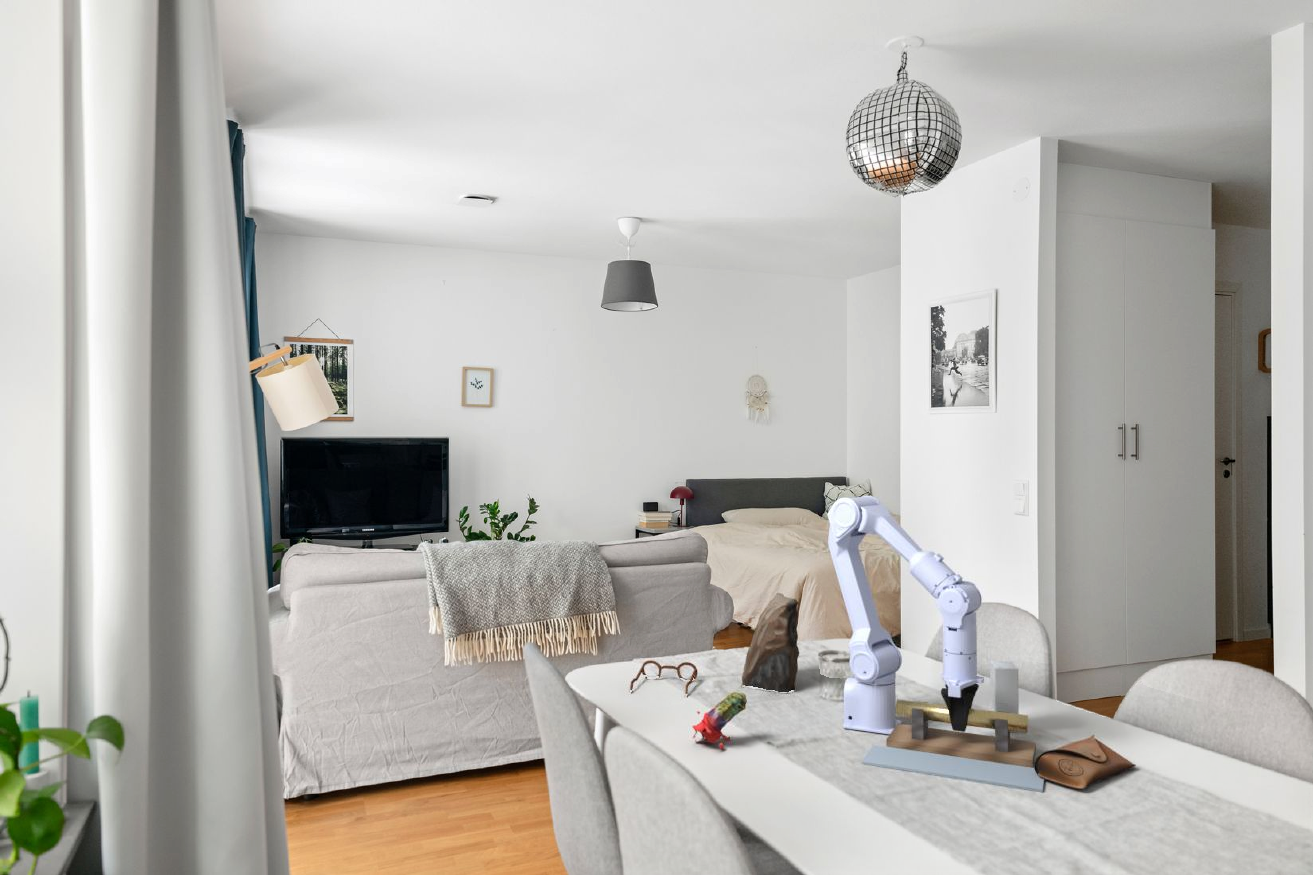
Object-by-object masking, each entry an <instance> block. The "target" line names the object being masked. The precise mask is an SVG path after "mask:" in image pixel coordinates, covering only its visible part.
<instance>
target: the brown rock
mask: <svg viewBox="0 0 1313 875" xmlns="http://www.w3.org/2000/svg"><path fill="white" fill-rule="evenodd" d="M798 605H799V601H798V600H797V599H796V598H790V597H787V596H784V594H783V593H780V592H776V594H775V596H774V597H773V598H772V599H771V600H770V601H769V602H768V603H767V605H766V607H765V608H764V610H762V612H761V614H759V618H758V620H757V624H756V627H755V630H754V632H753V636H752V638H751V642H750V645H749V647H748V650H747V652H746V656H745V663H744V667H743V672H742V674H741V675H742V676H741V682H742V684H741V686H742V685H745V686H753V687H758V688H763V689H766V690H775V691H778V692H789V691H791V690H795V687H796V681H797V680H796V678H797V675H798V672H799V670H798V669H799V663H798V660H799V659H798V658H799V656H800V650H799V646H798V640H799V634H798V630H797V620H798V618H799V614H798V610H797V608H798ZM795 691H796V690H795Z"/></svg>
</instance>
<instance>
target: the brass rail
mask: <svg viewBox="0 0 1313 875" xmlns="http://www.w3.org/2000/svg"><path fill="white" fill-rule="evenodd" d="M923 702H924V701H919V702H917V701H914V700H913V701H912V700H905V699H897V700H896V717H898V718H899V717H900V718H906V719H912V715H911V709H912V708H917V709H924V720H928V722H935V723H937V722H938V723H945V724H951V721H950V716H949V712H948V708H947V705H946V704H938V703H930V702H927V703H923ZM995 718H997V719H1005V720H1008V731H1012V732H1011V733H1013V732H1018V733H1019V734H1020V733H1021V734H1028V731H1029V716H1028V715H1027V714H1013V713H1004V712H996V711H990V710H985V709H980V708H979V709H978V708H972V707H971V708H970V709H969V714H968V721H967V727H974V728H975V727H976V728H983V729H989V730H995Z"/></svg>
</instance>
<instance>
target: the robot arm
mask: <svg viewBox="0 0 1313 875" xmlns="http://www.w3.org/2000/svg"><path fill="white" fill-rule="evenodd" d="M827 519H828V522H829V532H828V537H827V538H828V540H827V543H828V544H827V545H828V549H829V550H828V551H829V552H830V556H831V559H832V563H833V567H834V571H835V573H836V577H837V580H838V584H839V588H840V591H841V594H842V597H843V601H844V605H845V608H846V612H847V615H848V620H849V622H850V626H851V629H852V635H851V637H850V640H849V641H848V642H849V643H848V645H847V646H848V649H849V661H848V662H849V664H848V665H849V670H850V672H851V673H852V675H853V676H854V677H850V676H849V677H847V678H846V680H845V683H844V688H843V725H842V728H843V729H847V730H854V731H855V730H856V731H862V732H863V731H864V732H869V733H876V734H885V735H890V734H891V732H892V731H893V729H894V728H895V726H896V725H897V724H902V721H901V720H899V719H897V718H896V717H897V716H896V702H897V700H896V697H897V696H896V694H897V693H896V678H897V677H896V676H897V672H898V671H899V670H900V668H901V666H902V663H903V660H902V659H903V657H902V654H901V652H900V650H899V648H898V647H897V645H896V644H895V643H894V641H893V638H892V635H891V633H890V632H889V631H888V630H887V629H885V628H884V627H883V626H882V624H881V622H880V618H879V615H878V611H877V607H876V604H875V600H874V597H873V593H872V590H871V587H870V584H869V580H868V577H867V572H866V569H865V567H864V563H863V561H862V560H863V559H862V556H861V553H860V549H859V546H860V545H861V543H862V541H863V539H864V538H865V536H866V535H868V534H872V535H877V536H878V537H880V538H881V539H882V540H883V542H885V543H887V545H888V546H890V547H891V548H892V549H893V550H895V552H896V553H897V554H899V555H900V556H901V558H903V559H904V560H905V561H906V562H908V564H909V573H910V574H911V575H912V577H914V578H915V580H916V581H917V582H918V583H919V584H920V585H921V586H922V587H923V588H925V590H926V591H928V593H929V594H931V596H932V597H933V598H935V603H936V607H937V610H938V611H939V612H940V614H941V617H942V674H941V680H942V681H943V683H945V685H944V687H945V688H944V687H942V688H941V690H940V695H941V697H942V699H943V701H944V703H945V705H947V708H948V712H949V716H950V721H951V723H950V725H951V726H950V727H951V729H952V731H957V732H965V733H966V730H967V727H968V726H967V721H968V714H969V709H970V708H972V707H973V702H974V699H975V696H976V693H977V691H978V689H979V687H980V684H983V683H984V682H985V677H984V676H979V675H978V659H977V658H978V657H977V655H978V654H977V653H978V648H977V647H978V644H977V643H978V642H977V639H978V638H977V633H978V632H977V611H978V610H979V608H980V607H981V605H982V602H983V601H982V595H981V592H980V590H979V588H978V587H977V586H976V584H975V583H973V582H972V581H969V580H963V576H961V575H960V574H956V572H954V571H953V569H951V568H950V567H949V565H947V564H946V563H945V562H944V559H945V558H944V557H943V555H942V554H940V553H937V554H936V553H935V552H934V551H932V550H931V551H929V550H928V551H926V550H925V551H924V550H923V549H922V548H921V547H920V546H919V544H917V542H915V540H914V539H913V538H912V537H911V536H910V535H909V534H908V532H906V530H905V529H904V528H903V527H902V526H901V525H900V523H898V521H897V520H895V518H894V517H893V516H892V514H891V513H890V511H889V509H888V508H887V507H886V506H885V505H884V504H882V503H881V502H880V500H878V499H877V498H876V497H875V496H872V495H864V496H857V497H846V496H845V497H841V498H838V499H836V501H835V502H834V503H833V504H832V506H831V508H830V509H829V511H828V513H827Z"/></svg>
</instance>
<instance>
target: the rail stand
mask: <svg viewBox="0 0 1313 875" xmlns="http://www.w3.org/2000/svg"><path fill="white" fill-rule="evenodd" d="M916 702H920V701H916ZM922 702H923V703H928V701H927V702H926V701H922ZM998 712H1002V711H998ZM1004 713H1010V712H1004ZM911 715H912V718H911V725H910V724H906V723H905V724H904V723H901V724H897V725H896V726H895V728H894V729H893V731H892V732H891V734H888V737H886V747H891V748H898V749H905V750H912V751H918V752H925V753H932V754H939V755H946V756H952V757H959V758H966V759H973V760H980V761H987V762H993V763H1000V764H1007V765H1014V766H1021V767H1028V768H1034V762H1035V756H1036V752H1037V751H1036V750H1037V742H1036V741H1033V740H1032V741H1031V740H1023V739H1015V738H1011V732H1010V731H1008V720H1005V719H997V718H995V729H994V735H987V734H979V733H972V732H966V731H965V732H962V731H954V730H949V729H942V728H941V729H940V728H934V727H929V721H928V720H924V709H917V708H912V709H911Z"/></svg>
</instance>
